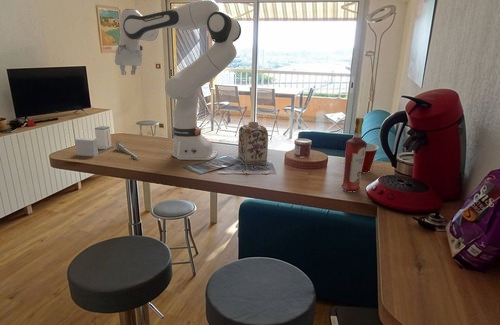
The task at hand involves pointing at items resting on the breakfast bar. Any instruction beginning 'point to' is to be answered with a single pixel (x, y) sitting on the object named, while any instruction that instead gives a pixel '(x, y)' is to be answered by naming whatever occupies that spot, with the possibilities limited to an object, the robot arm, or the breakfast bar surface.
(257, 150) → the decorative jar
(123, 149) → the caliper
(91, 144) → the grey holder
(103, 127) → the cream rectangular box
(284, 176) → the breakfast bar surface
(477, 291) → the breakfast bar surface
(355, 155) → the liquor
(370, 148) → the plastic cup
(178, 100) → the robot arm
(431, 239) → the breakfast bar surface
